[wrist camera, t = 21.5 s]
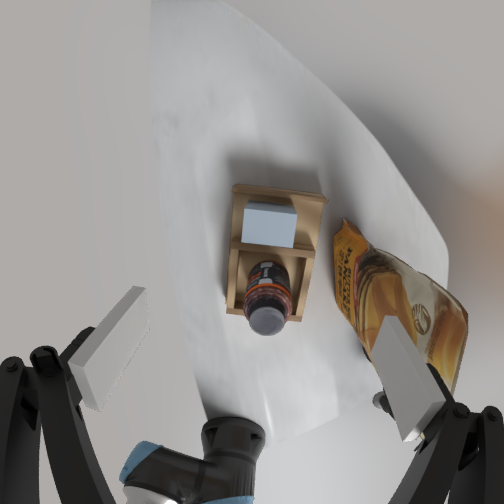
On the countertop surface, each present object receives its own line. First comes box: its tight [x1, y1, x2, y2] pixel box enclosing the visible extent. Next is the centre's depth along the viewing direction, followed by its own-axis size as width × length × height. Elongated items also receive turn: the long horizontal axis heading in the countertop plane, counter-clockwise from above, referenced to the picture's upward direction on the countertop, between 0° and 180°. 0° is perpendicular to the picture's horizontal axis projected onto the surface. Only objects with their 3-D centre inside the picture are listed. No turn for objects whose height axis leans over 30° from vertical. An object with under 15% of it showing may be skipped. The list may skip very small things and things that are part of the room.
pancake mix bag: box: [333, 217, 468, 440], centre depth 29 cm, size 7×19×28 cm, turn 9°
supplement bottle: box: [243, 261, 292, 336], centre depth 36 cm, size 6×6×11 cm
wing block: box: [241, 200, 297, 248], centre depth 35 cm, size 4×6×6 cm, turn 85°
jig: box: [225, 184, 328, 322], centre depth 40 cm, size 18×12×4 cm, turn 174°
